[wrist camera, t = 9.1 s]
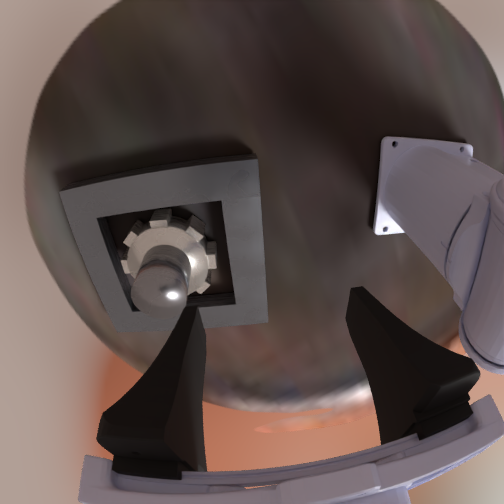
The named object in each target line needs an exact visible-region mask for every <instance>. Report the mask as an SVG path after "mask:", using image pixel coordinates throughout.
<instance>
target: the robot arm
mask: <svg viewBox="0 0 504 504" xmlns="http://www.w3.org/2000/svg"><path fill="white" fill-rule="evenodd" d="M393 141H395V145H394V146H392V142H393ZM460 148H461V150H460ZM472 154H473V147H472V146H471V145H469V144H466V143H458V142H450V141H441V140H431V139H420V138H406V137H389V136H387V137H384V138H383V139H382V141H381V154H380V168H379V179H378V190H377V199H376V208H375V216H374V224H373V231H374V233H375V234H377V235H384V234H394V233H406V234H407V235H408V236H409V237H410V238H411V240H412V241H413V242H414V243H415V244H416V245H417V246H418V247H419V249H420V250H421V251H422V252H423V253H424V254H425V255H426V257H427V258H428V259H429V260H430V261H431V262H432V264H433V265H434V266H435V267H436V268H437V270H438V271H439V272H440V273H441V274H442V276H443V277H444V278H445V279H446V281H447V282H448V283H449V284H450V286H451V287H452V288H453V290H454V297H453V299H454V301H455V302H456V303H457V305H458V306H459V307H460V309H461V310H462V311H463V312H462V314H461V317H460V320H459V336H460V340H461V343H462V346H463V348H464V350H465V351H466V353H467V354H468V356H469V357H470V358H469V357H466V356H463V355H460V354H457V353H455V352H453V351H450V350H448V349H446V348H444V347H442V346H440V345H438V344H436V343H434V342H432V341H431V340H429V339H427V338H425V337H424V336H422V335H421V334H419V333H418V332H416V331H415V330H413V329H412V328H410V327H409V326H408V325H406V324H405V323H404V322H402V321H401V320H400V319H399V318H397V317H396V316H395V315H394V314H393V313H391V312H390V311H389V310H388V309H387V308H386V307H385V306H383V305H382V304H381V303H380V302H379V301H378V300H377V299H376V298H375V297H374V296H373V295H371V294H370V293H369V292H368V291H367V290H366V289H365V288H364V287H363V286H361V287H355V288H351V290H350V296H349V302H348V307H347V313H346V322H347V326H348V329H349V333H350V336H351V338H352V341H353V343H354V346H355V348H356V350H357V353H358V355H359V358H360V360H361V362H362V365H363V367H364V369H365V372H366V375H367V378H368V381H369V385H370V388H371V392H372V396H373V400H374V405H375V409H376V414H377V420H378V425H379V431H380V440H381V445H380V446H377V447H374V448H370V449H367V450H363V451H359V452H355V453H351V454H348V455H344V456H339V457H334V458H330V459H326V460H320V461H315V462H309V463H303V464H297V465H291V466H283V467H275V468H267V469H256V470H242V471H220V472H207V466H206V457H205V446H204V432H203V411H202V410H203V409H202V396H203V384H204V373H205V363H206V334H205V330H204V326H203V323H202V319H201V315H200V312H199V308H198V306H188V307H184V309H183V311H182V313H181V315H180V317H179V319H178V321H177V323H176V325H175V327H174V329H173V331H172V333H171V334H170V336H169V338H168V340H167V342H166V343H165V345H164V346H163V348H162V350H161V351H160V353H159V354H158V356H157V357H156V359H155V360H154V362H153V363H152V364H151V366H150V367H149V368H148V370H147V371H146V372H145V373H144V375H143V376H142V377H141V378H140V379H139V380H138V382H137V383H136V384H135V385H134V386H133V387H132V388H131V389H130V390H129V391H128V392H127V393H126V394H125V395H124V396H123V397H122V398H121V399H120V400H118V401H117V402H116V403H115V404H114V405H112V406H111V407H110V408H108V409H107V410H106V411H105V412H103V414H102V417H101V419H100V423H99V428H98V433H97V438H96V439H97V441H98V443H99V444H100V445H101V446H102V447H104V448H105V449H106V450H108V451H109V452H110V453H112V454H113V455H114V458H113V461H112V460H109V459H105V458H100V457H94V456H89V455H85V456H84V462H83V468H82V475H81V481H80V488H79V496H78V501H79V502H81V503H83V504H411V502H410V498H409V495H408V491H407V490H409V489H411V488H414V487H416V486H419V485H421V484H423V483H425V482H427V481H430V480H432V479H434V478H436V477H438V476H440V475H442V474H444V473H446V472H448V471H450V470H451V469H453V468H455V467H457V466H459V465H460V464H462V463H464V462H466V461H467V460H469V459H471V458H473V457H474V456H476V455H477V454H479V453H481V452H482V451H484V450H485V449H487V448H488V447H489V446H491V445H492V444H493V443H495V442H496V441H497V440H499V439H500V438H501V437H502V436H504V421H503V419H502V417H501V415H500V413H499V411H498V408H497V407H496V404H495V403H494V401H493V399H492V397H491V395H487V396H485V397H484V398H482V399H480V400H478V401H476V402H474V403H473V404H471V405H469V403H468V401H469V400H470V396H469V394H468V392H469V391H470V390H471V389H472V387H473V386H474V385H475V384H476V382H477V381H478V379H479V377H480V371H479V369H478V367H477V366H476V364H477V365H479V366H480V367H481V368H484V369H485V370H487V371H490V372H492V373H496V374H504V175H503V174H502V173H500V172H498V171H496V170H495V169H493V168H491V167H489V166H488V165H486V164H484V163H482V162H480V161H478V160H476V159H475V158H473V157H472ZM384 227H386V228H385V229H384V230H383V228H384ZM475 363H476V364H475ZM274 484H277V485H274ZM265 485H271V486H265ZM253 486H265V487H259V488H252V489H246V488H244V487H253Z"/></svg>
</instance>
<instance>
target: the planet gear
mask: <svg viewBox="0 0 504 504" xmlns="http://www.w3.org/2000/svg"><path fill="white" fill-rule="evenodd" d="M204 231H205V223H203V222H202V221H201V220H199V219H198V218H197V217H195V216H194V215H192V216H191V217H190V218H189V219H188V220H185V219H183V218H180V217H175V216H172V210H171V208H170V209H159V210H155V211H154V213H153V215H152V217H151V219H150V220H149V221H148V222H146V223H145V224H144V223H142V222H141V221H140V220H137V221H136V223H135V224H134V225H133V227H132V228H131V229H130V231H129V233H128V235H127V236H126V238H125V240H124V242H123V243H124V244H126V245H127V246H129V247H127V249H126V251H125V253H124V255H123V257H122V259H121V263H122V266H123V269H124V273H131V275H132V277H133V278H134V279H135V281H134V283H133V286H132V289H131V298H132V301H133V303H134V304H135V306H136V307H137V308H138V309H139V310H140V311H141V312H143V313H144V314H146V315H148V316H150V317H154V318H158V319H169V318H173V317H175V316H177V315H179V314H180V313H182V311H183V309H184V307H185V306H186V301H187V295H189V294H191V293H193V292H195V291H197V292H198V293H200V294H201V293H202V292H204V291H205V290H206V289H207V288H208V287H209V286H210V284H211V270H210V269H217V248H216V241H213V242H208V241H207V239H206V237H205V235H204Z"/></svg>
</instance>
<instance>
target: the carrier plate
mask: <svg viewBox="0 0 504 504" xmlns="http://www.w3.org/2000/svg"><path fill="white" fill-rule="evenodd" d="M59 194H60V197H61V200H62V203H63V206H64V209H65V212H66V215H67V218H68V221H69V224H70V227H71V229H72V232H73V235H74V238H75V240H76V243H77V245H78V248H79V250H80V253H81V255H82V258H83V260H84V263H85V265H86V268H87V270H88V272H89V274H90V277H91V279H92V281H93V284H94V286H95V288H96V290H97V292H98V294H99V296H100V299H101V301H102V303H103V305H104V307H105V309H106V311H107V313H108V315H109V317H110V319H111V321H112V323H113V325H114V327H115V328H116V330H117V332H141V331H166V330H173V329H174V327H175V325H176V323H177V321H178V319H179V317H180V315H181V313H180V314H179V315H177V316H175V317H173V318H169V319H158V318H154V317H150V316H148V315H146V314H144V313H143V312H141V311H140V310H139V309H138V308H137V307H136V306H135V304H134V303H133V301H132V298H131V287H130V284H129V282H128V279H127V276H126V274H125V273H124V269H123V266H122V263H121V260H120V257H119V255H118V252H117V249H116V246H115V243H114V240H113V237H112V234H111V231H110V228H109V225H108V221H107V218H106V216H111V215H117V214H123V213H129V212H136V211H143V210H150V209H157V208H164V207H171V206H179V205H186V204H195V203H203V202H211V201H220V200H221V201H222V209H223V216H224V223H225V231H226V238H227V245H228V252H229V259H230V266H231V273H232V280H233V287H234V293H224V294H213V295H201V296H189V297H187V301H186V306H185V307H188V306H198V308H199V312H200V315H201V319H202V323H203V326H204V328H214V327H226V326H237V325H248V324H258V323H267V322H268V309H267V292H266V275H265V259H264V243H263V228H262V213H261V198H260V184H259V170H258V159H257V156H256V153H254V154H243V155H233V156H224V157H215V158H207V159H199V160H192V161H185V162H178V163H171V164H165V165H159V166H153V167H147V168H141V169H136V170H131V171H126V172H120V173H116V174H111V175H106V176H101V177H97V178H92V179H88V180H84V181H80V182H76V183H71V184H68V185H67V186H66V187H64V188H63V189H62V190H61V191H60V192H59Z"/></svg>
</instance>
